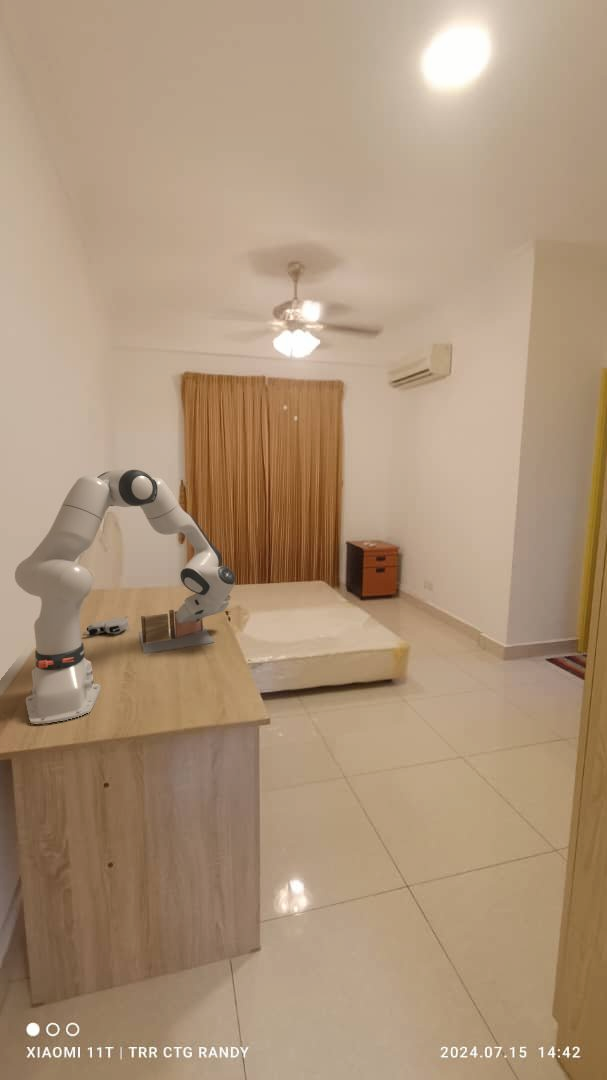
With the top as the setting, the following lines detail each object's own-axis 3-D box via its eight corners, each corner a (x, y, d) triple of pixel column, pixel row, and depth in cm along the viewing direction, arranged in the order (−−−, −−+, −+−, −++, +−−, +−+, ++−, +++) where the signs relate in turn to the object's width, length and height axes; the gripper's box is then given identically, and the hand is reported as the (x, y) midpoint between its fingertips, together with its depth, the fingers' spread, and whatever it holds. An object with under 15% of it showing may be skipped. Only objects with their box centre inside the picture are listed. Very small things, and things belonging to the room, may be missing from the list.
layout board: (214, 642, 171) (213, 641, 171) (144, 653, 162) (143, 652, 162) (202, 624, 191) (202, 623, 191) (139, 633, 182) (139, 632, 182)
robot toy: (84, 642, 176) (126, 635, 179) (82, 630, 175) (125, 624, 178) (91, 631, 187) (130, 625, 191) (89, 620, 187) (129, 614, 190)
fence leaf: (203, 630, 183) (202, 605, 181) (177, 637, 175) (175, 611, 174) (201, 629, 184) (200, 604, 182) (175, 636, 176) (174, 611, 175)
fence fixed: (175, 639, 175) (174, 610, 173) (143, 644, 170) (141, 614, 168) (174, 638, 176) (173, 609, 174) (142, 642, 172) (140, 613, 170)
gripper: (228, 587, 179) (214, 607, 188) (181, 599, 165) (168, 620, 173) (236, 601, 177) (221, 620, 185) (189, 614, 162) (175, 635, 171)
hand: (195, 620), depth 179 cm, fingers closed, pressing on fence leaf
